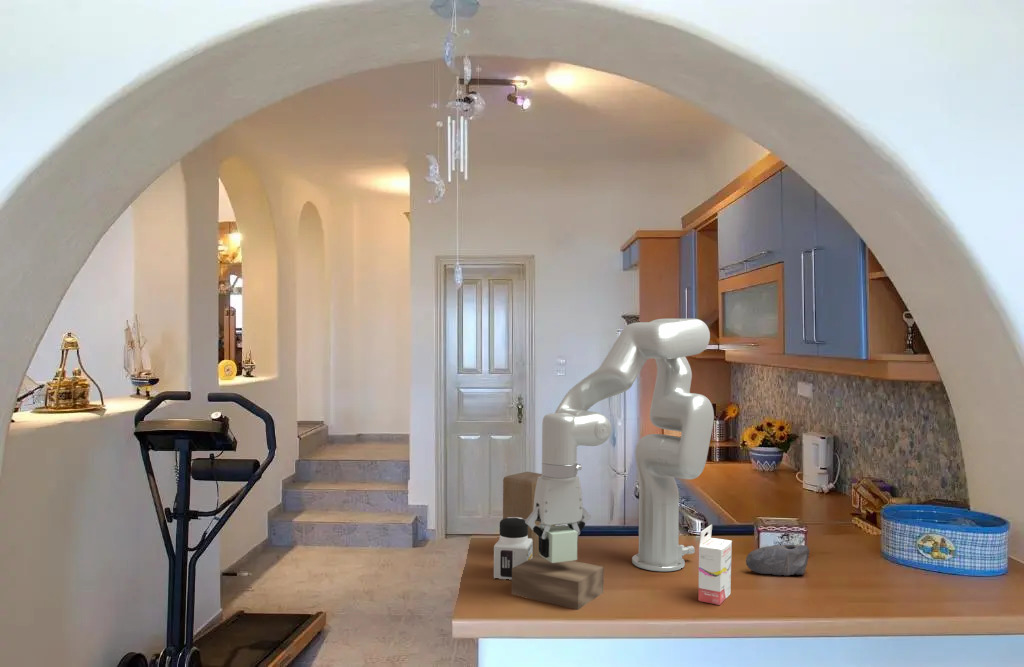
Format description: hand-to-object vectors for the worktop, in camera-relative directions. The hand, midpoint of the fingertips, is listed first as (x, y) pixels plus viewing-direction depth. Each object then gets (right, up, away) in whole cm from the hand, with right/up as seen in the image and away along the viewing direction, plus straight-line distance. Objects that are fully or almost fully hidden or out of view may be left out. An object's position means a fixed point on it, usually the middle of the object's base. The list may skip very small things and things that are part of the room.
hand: (558, 553), depth 164 cm
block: (-6, -9, +28) cm, 30 cm away
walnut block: (0, -9, 0) cm, 9 cm away
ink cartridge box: (+34, -9, -2) cm, 35 cm away
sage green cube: (0, -1, 0) cm, 1 cm away
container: (-10, -9, +12) cm, 18 cm away
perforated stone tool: (+53, -9, +14) cm, 55 cm away
